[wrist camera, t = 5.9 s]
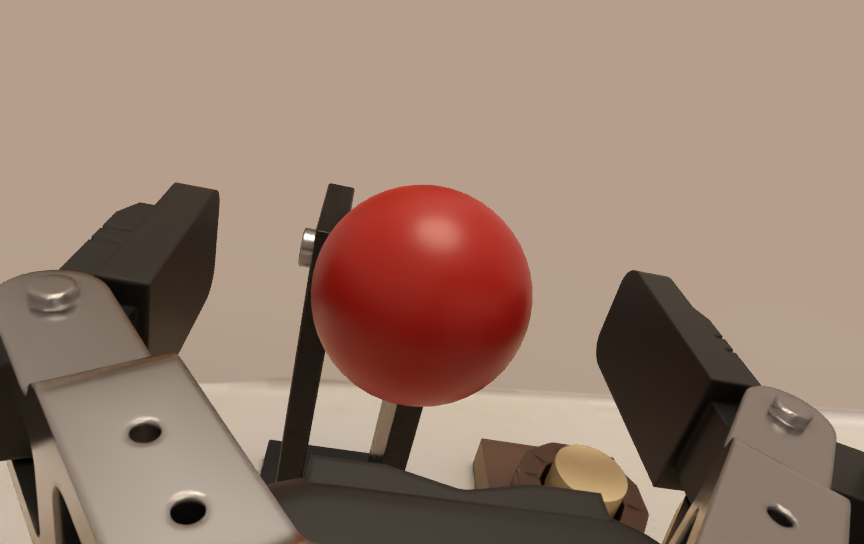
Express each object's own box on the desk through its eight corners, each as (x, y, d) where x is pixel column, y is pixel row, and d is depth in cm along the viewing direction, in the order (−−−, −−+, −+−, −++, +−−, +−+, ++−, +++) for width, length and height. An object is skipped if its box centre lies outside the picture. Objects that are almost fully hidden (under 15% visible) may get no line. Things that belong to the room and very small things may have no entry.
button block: (662, 648, 29) (698, 593, 27) (495, 632, 28) (521, 573, 26) (601, 481, 38) (626, 431, 36) (472, 463, 37) (491, 411, 35)
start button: (624, 531, 30) (638, 506, 29) (552, 522, 29) (564, 496, 29) (603, 474, 33) (615, 449, 32) (537, 464, 33) (548, 439, 32)
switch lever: (537, 454, 10) (586, 204, 10) (281, 418, 9) (329, 152, 9) (421, 318, 25) (440, 219, 25) (321, 301, 25) (339, 199, 24)
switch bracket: (394, 633, 27) (505, 299, 19) (226, 616, 26) (271, 257, 18) (396, 472, 35) (474, 191, 27) (266, 455, 34) (310, 157, 26)
